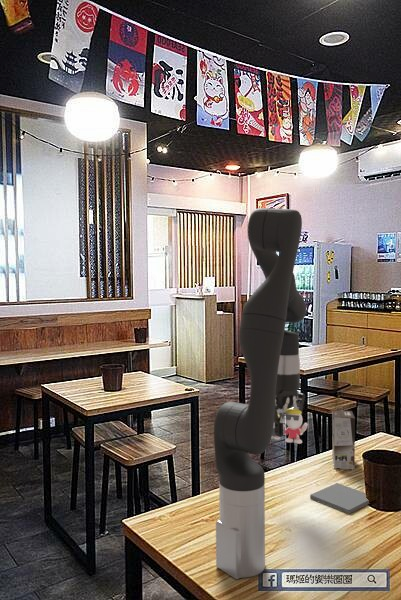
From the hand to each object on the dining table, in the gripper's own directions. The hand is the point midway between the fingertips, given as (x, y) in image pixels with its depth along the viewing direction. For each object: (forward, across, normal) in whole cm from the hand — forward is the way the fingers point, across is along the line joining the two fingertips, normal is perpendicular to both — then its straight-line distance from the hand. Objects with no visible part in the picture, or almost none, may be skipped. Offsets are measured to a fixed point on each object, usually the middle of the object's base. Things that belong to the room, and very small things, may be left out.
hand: (285, 433), depth 136 cm
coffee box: (+17, +32, +4) cm, 37 cm away
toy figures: (+2, 0, 0) cm, 2 cm away
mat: (+17, +10, -11) cm, 23 cm away
